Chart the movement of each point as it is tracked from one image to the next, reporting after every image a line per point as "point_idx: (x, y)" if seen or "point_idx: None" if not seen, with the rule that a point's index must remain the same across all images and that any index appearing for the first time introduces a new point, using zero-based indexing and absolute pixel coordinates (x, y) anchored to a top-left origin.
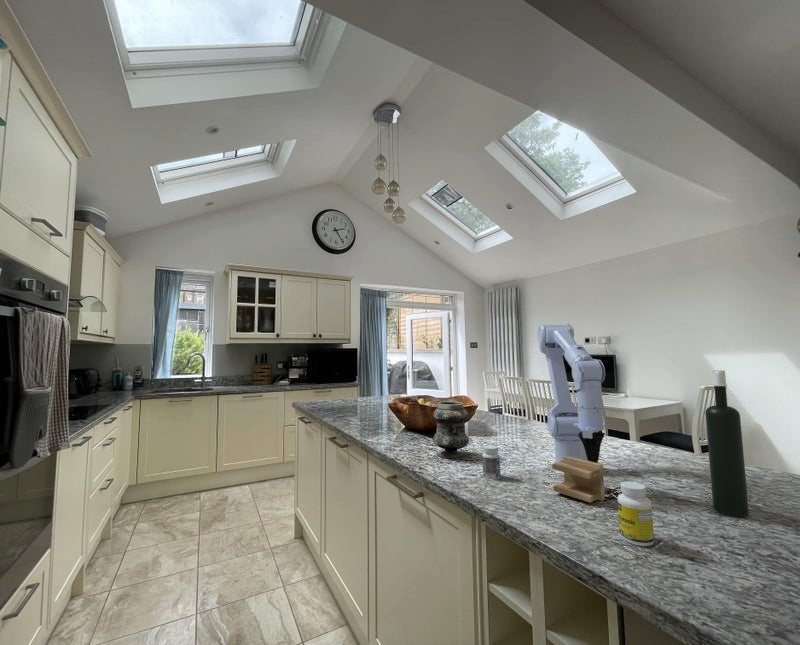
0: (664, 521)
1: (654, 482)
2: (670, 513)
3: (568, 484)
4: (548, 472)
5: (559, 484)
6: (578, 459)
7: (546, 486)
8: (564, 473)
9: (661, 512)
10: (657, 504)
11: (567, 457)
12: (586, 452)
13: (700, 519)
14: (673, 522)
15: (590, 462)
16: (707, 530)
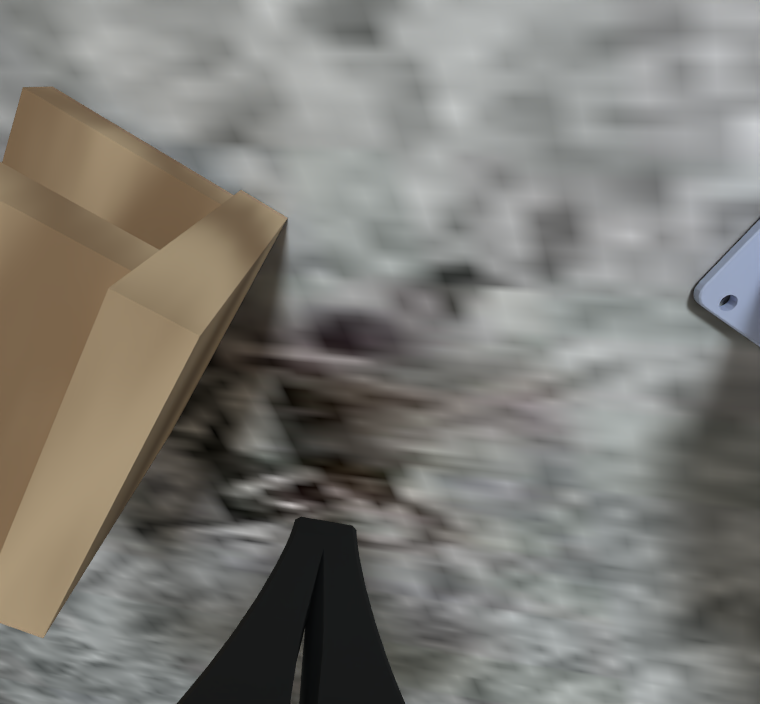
0: None
1: (575, 668)
2: (137, 637)
3: (153, 237)
4: (744, 32)
5: (107, 153)
6: (94, 466)
7: (262, 11)
8: (190, 228)
9: (128, 614)
10: (230, 621)
11: (123, 346)
12: (257, 599)
13: (131, 697)
14: None
15: (36, 561)
16: (28, 689)
